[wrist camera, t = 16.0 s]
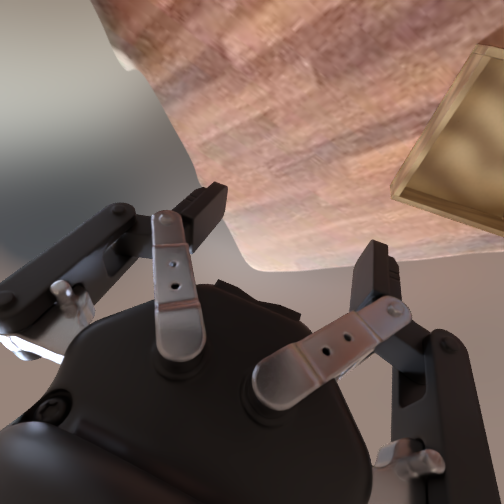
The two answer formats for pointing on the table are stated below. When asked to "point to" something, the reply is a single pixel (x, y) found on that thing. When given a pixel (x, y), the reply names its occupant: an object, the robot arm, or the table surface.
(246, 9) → the table surface
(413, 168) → the tray
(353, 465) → the robot arm
